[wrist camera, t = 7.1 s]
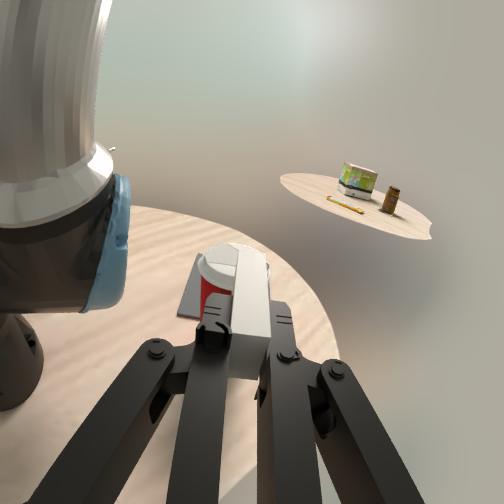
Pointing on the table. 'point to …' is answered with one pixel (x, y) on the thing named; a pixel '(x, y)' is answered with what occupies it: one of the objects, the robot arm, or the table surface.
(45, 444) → the table surface
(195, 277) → the mat
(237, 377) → the robot arm
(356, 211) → the candy bar
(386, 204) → the condiment
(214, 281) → the paper cup
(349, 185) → the tea box
